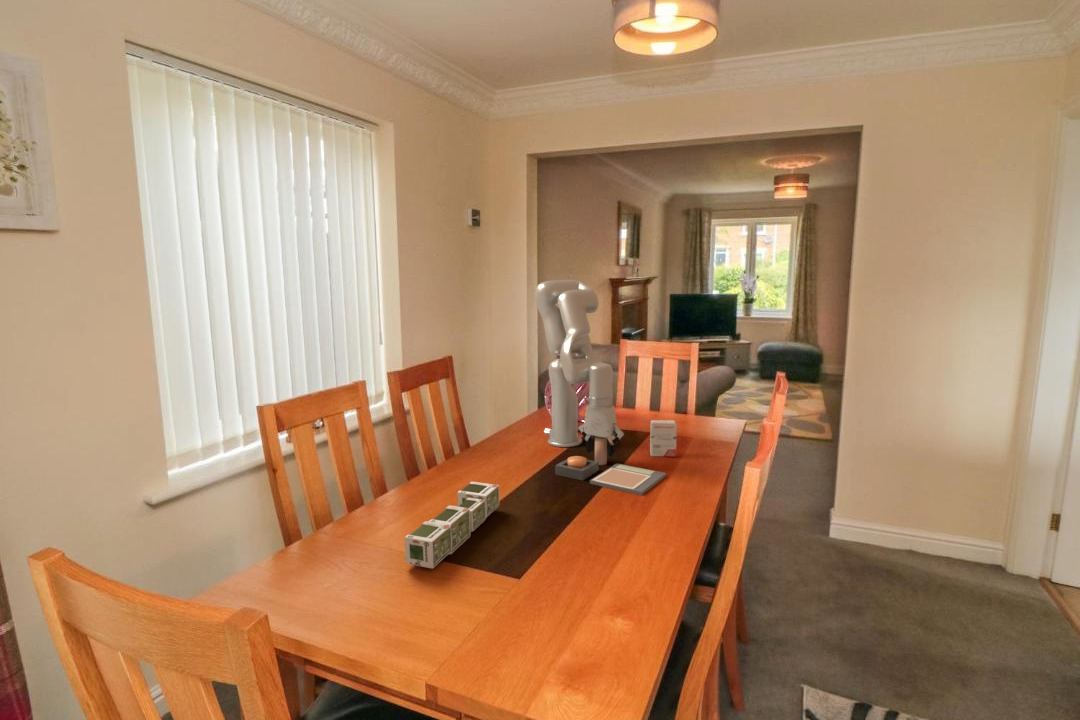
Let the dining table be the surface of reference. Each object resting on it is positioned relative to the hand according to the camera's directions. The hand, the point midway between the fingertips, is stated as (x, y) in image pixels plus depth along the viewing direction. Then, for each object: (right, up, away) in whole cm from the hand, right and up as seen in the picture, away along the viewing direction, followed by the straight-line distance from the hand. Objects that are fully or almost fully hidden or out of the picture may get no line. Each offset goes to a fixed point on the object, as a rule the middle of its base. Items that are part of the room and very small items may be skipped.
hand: (600, 453), depth 196 cm
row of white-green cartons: (-41, -13, -50) cm, 66 cm away
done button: (-8, -3, -8) cm, 12 cm away
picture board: (+7, -6, -15) cm, 17 cm away
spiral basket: (-6, +4, +45) cm, 45 cm away
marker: (0, -3, +1) cm, 3 cm away
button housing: (-8, -5, -8) cm, 13 cm away
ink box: (+22, -2, +8) cm, 24 cm away
